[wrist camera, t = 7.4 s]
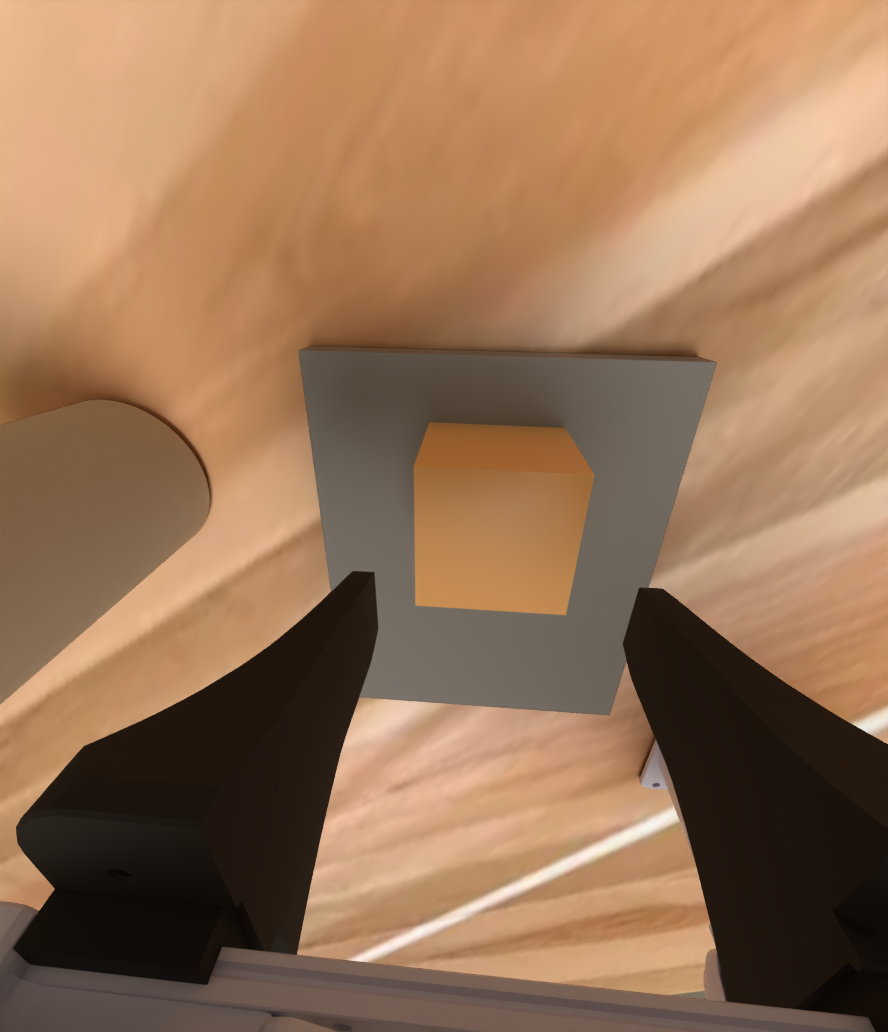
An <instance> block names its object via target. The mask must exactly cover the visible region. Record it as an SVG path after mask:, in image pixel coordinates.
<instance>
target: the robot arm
mask: <svg viewBox="0 0 888 1032" xmlns="http://www.w3.org/2000/svg"><path fill="white" fill-rule="evenodd" d="M377 633H378V614H377V600H376V586H375V572H365V571H352V572H351V573H350V574H349V575H348V576H347V577H346V578H345V579H344V580H343V581H342V582H341V583H340V584H339V585H338V586H337V587H336V588H335V589H334V590H333V591H331V592H330V593H329V594H328V595H327V596H326V597H325V598H324V599H323V600H322V601H321V602H320V603H319V604H318V605H317V606H316V607H315V608H313V609H312V610H311V611H310V612H309V613H308V614H307V615H306V616H305V617H304V618H303V619H301V620H300V621H299V622H298V623H297V624H296V625H294V626H293V627H292V628H291V629H290V630H288V631H287V632H286V633H285V634H284V635H282V636H281V637H280V638H279V639H277V640H276V641H275V642H274V643H272V644H271V645H270V646H268V647H267V648H266V649H264V650H263V651H262V652H260V653H259V654H257V655H256V656H254V657H253V658H252V659H250V660H249V661H247V662H246V663H244V664H243V665H241V666H240V667H238V668H237V669H235V670H233V671H232V672H230V673H228V674H227V675H225V676H223V677H222V678H220V679H219V680H217V681H215V682H214V683H212V684H210V685H209V686H207V687H205V688H204V689H202V690H200V691H198V692H197V693H195V694H193V695H191V696H189V697H187V698H186V699H184V700H182V701H180V702H178V703H176V704H174V705H172V706H170V707H168V708H166V709H164V710H163V711H161V712H159V713H157V714H155V715H153V716H150V717H148V718H146V719H144V720H142V721H140V722H138V723H135V724H133V725H131V726H129V727H127V728H124V729H122V730H120V731H118V732H115V733H113V734H111V735H109V736H106V737H104V738H102V739H100V740H97V741H95V742H93V743H90V744H88V745H86V746H84V747H83V748H82V749H81V750H80V751H79V752H78V753H77V754H76V756H75V757H74V758H73V759H72V760H71V761H70V762H69V764H68V765H67V766H66V767H65V768H64V769H63V770H62V772H61V773H60V774H59V775H58V776H57V777H56V779H55V780H54V781H53V782H52V783H51V784H50V785H49V787H48V788H47V789H46V790H45V791H44V792H43V794H42V795H41V796H40V797H39V798H38V799H37V800H36V802H35V803H34V804H33V805H32V806H31V807H30V809H29V810H28V811H27V812H26V813H25V814H24V815H23V817H22V818H21V819H20V821H19V823H18V825H17V826H16V834H17V841H18V844H19V846H20V848H21V849H22V851H23V852H24V854H25V855H26V856H27V857H28V858H29V859H30V861H31V862H32V863H33V864H34V865H35V866H36V868H37V869H38V870H39V871H40V872H41V873H42V874H43V876H44V877H45V878H46V879H47V880H48V881H49V882H50V884H51V885H52V886H53V887H54V888H55V890H54V891H53V893H52V894H51V895H50V897H49V898H48V900H47V901H46V902H45V904H44V905H43V907H42V908H41V910H40V911H38V910H36V909H34V908H32V907H29V906H27V905H23V904H18V903H12V902H3V901H0V1032H888V744H886V743H884V742H883V741H881V740H879V739H877V738H875V737H874V736H872V735H870V734H868V733H867V732H865V731H863V730H861V729H860V728H858V727H856V726H854V725H852V724H851V723H849V722H847V721H845V720H844V719H842V718H840V717H839V716H837V715H835V714H834V713H832V712H830V711H829V710H827V709H825V708H824V707H822V706H821V705H819V704H817V703H816V702H814V701H813V700H811V699H810V698H808V697H806V696H805V695H803V694H802V693H800V692H799V691H797V690H796V689H794V688H792V687H791V686H789V685H788V684H786V683H785V682H783V681H782V680H781V679H779V678H778V677H776V676H775V675H773V674H772V673H771V672H769V671H768V670H766V669H765V668H764V667H762V666H761V665H759V664H758V663H757V662H755V661H754V660H753V659H751V658H750V657H748V656H747V655H746V654H744V653H743V652H742V651H740V650H739V649H738V648H737V647H735V646H734V645H733V644H731V643H730V642H729V641H728V640H726V639H725V638H724V637H722V636H721V635H720V634H719V633H717V632H716V631H715V630H714V629H712V628H711V627H710V626H709V625H707V624H706V623H705V622H704V621H703V620H701V619H700V618H699V617H698V616H696V615H695V614H694V613H693V612H692V611H690V610H689V609H688V608H687V607H685V606H684V605H683V604H682V603H680V602H679V601H678V600H677V599H675V598H674V597H673V596H672V595H670V594H669V593H668V592H666V591H665V590H664V589H659V588H642V587H639V589H638V593H637V596H636V600H635V603H634V606H633V610H632V613H631V617H630V620H629V624H628V627H627V631H626V634H625V637H624V641H623V648H624V652H625V656H626V660H627V664H628V668H629V672H630V675H631V679H632V682H633V684H634V687H635V689H636V692H637V694H638V697H639V699H640V702H641V704H642V707H643V709H644V712H645V714H646V717H647V719H648V722H649V724H650V726H651V729H652V731H653V734H654V736H655V742H654V744H653V747H652V749H651V752H650V754H649V757H648V759H647V762H646V764H645V767H644V769H643V772H642V774H641V777H640V783H641V785H642V787H644V788H650V789H662V790H668V791H669V794H670V796H671V799H672V802H673V804H674V807H675V810H676V812H677V815H678V818H679V820H680V823H681V826H682V828H683V831H684V833H685V836H686V839H687V841H688V844H689V847H690V849H691V852H692V855H693V857H694V860H695V863H696V867H697V870H698V874H699V879H700V883H701V887H702V891H703V895H704V899H705V903H706V907H707V911H708V915H709V919H710V923H711V924H709V928H710V931H711V934H712V936H713V939H714V942H715V945H716V949H711V950H710V951H709V952H707V956H706V966H705V970H704V989H705V995H706V1000H705V999H696V998H687V997H677V996H669V995H660V994H650V993H641V992H632V991H623V990H614V989H605V988H596V987H586V986H577V985H568V984H559V983H550V982H541V981H531V980H522V979H513V978H504V977H495V976H486V975H476V974H467V973H458V972H449V971H440V970H431V969H422V968H412V967H403V966H394V965H385V964H376V963H367V962H357V961H348V960H339V959H330V958H321V957H312V956H303V955H297V951H298V945H299V940H300V935H301V930H302V925H303V920H304V915H305V910H306V905H307V900H308V895H309V890H310V885H311V880H312V875H313V871H314V866H315V861H316V857H317V852H318V847H319V843H320V838H321V834H322V829H323V825H324V820H325V816H326V812H327V807H328V803H329V799H330V794H331V790H332V786H333V782H334V778H335V774H336V770H337V765H338V761H339V757H340V753H341V750H342V747H343V743H344V740H345V737H346V734H347V731H348V728H349V725H350V722H351V719H352V716H353V714H354V711H355V708H356V705H357V702H358V699H359V696H360V693H361V691H362V688H363V685H364V682H365V679H366V676H367V673H368V670H369V667H370V664H371V661H372V657H373V652H374V648H375V643H376V638H377Z"/></svg>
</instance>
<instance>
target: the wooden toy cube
mask: <svg viewBox="0 0 888 1032" xmlns="http://www.w3.org/2000/svg"><path fill="white" fill-rule="evenodd" d="M593 480H594V473H593V472H592V470H591V468H590V467H589V465H588V464H587V462H586V460H585V459H584V457H583V456H582V454H581V452H580V451H579V449H578V448H577V446H576V444H575V443H574V441H573V440H572V438H571V436H570V435H569V433H568V432H567V430H566V428H553V427H529V426H505V425H481V424H457V423H433V422H430V423H429V425H428V428H427V431H426V434H425V436H424V439H423V442H422V445H421V448H420V450H419V453H418V456H417V459H416V461H415V464H414V533H415V606H429V607H445V608H460V609H476V610H492V611H507V612H523V613H539V614H554V615H566V612H567V607H568V603H569V598H570V593H571V588H572V583H573V578H574V573H575V568H576V563H577V558H578V554H579V549H580V544H581V539H582V534H583V529H584V524H585V519H586V514H587V509H588V504H589V500H590V495H591V490H592V485H593Z"/></svg>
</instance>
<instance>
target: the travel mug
mask: <svg viewBox="0 0 888 1032" xmlns="http://www.w3.org/2000/svg"><path fill="white" fill-rule="evenodd" d="M209 505H210V496H209V489H208V484H207V480H206V477H205V475H204V472H203V470H202V468H201V466H200V464H199V462H198V460H197V459H196V457H195V455H194V454H193V452H192V451H191V450H190V448H189V447H188V446H187V445H186V443H185V442H184V441H183V440H182V439H181V438H180V437H179V436H178V435H177V434H176V433H175V432H174V431H173V430H172V429H171V428H169V427H168V426H167V425H166V424H164V423H163V422H162V421H160V420H159V419H157V418H156V417H154V416H152V415H150V414H149V413H147V412H145V411H143V410H141V409H139V408H136V407H134V406H131V405H128V404H125V403H122V402H117V401H112V400H88V401H83V402H79V403H76V404H72V405H69V406H65V407H62V408H58V409H55V410H51V411H48V412H44V413H41V414H37V415H34V416H30V417H27V418H23V419H20V420H16V421H13V422H10V423H6V424H3V425H0V704H1V703H3V702H4V701H5V700H6V699H7V698H8V697H9V696H11V695H12V694H13V693H14V692H15V691H16V690H17V689H19V688H20V687H21V686H22V685H23V684H24V683H26V682H27V681H28V680H29V679H30V678H31V677H32V676H34V675H35V674H36V673H37V672H38V671H39V670H40V669H42V668H43V667H44V666H45V665H46V664H47V663H48V662H50V661H51V660H52V659H53V658H54V657H55V656H57V655H58V654H59V653H60V652H61V651H62V650H63V649H65V648H66V647H67V646H68V645H69V644H70V643H71V642H73V641H74V640H75V639H76V638H77V637H78V636H79V635H81V634H82V633H83V632H84V631H85V630H86V629H87V628H89V627H90V626H91V625H92V624H93V623H94V622H96V621H97V620H98V619H99V618H100V617H101V616H102V615H104V614H105V613H106V612H107V611H108V610H109V609H110V608H112V607H113V606H114V605H115V604H116V603H117V602H118V601H120V600H121V599H122V598H123V597H124V596H125V595H127V594H128V593H129V592H130V591H131V590H132V589H133V588H135V587H136V586H137V585H138V584H139V583H140V582H141V581H143V580H144V579H145V578H146V577H147V576H148V575H149V574H151V573H152V572H153V571H154V570H155V569H156V568H158V567H159V566H160V565H161V564H162V563H163V562H164V561H166V560H167V559H168V558H169V557H170V556H171V555H172V554H174V553H175V552H176V551H177V550H178V549H179V548H180V547H182V546H183V545H184V544H185V543H186V542H187V541H189V540H190V539H191V538H192V537H193V536H194V535H195V534H196V533H197V532H198V531H199V530H200V529H201V528H202V526H203V524H204V523H205V521H206V518H207V515H208V512H209Z"/></svg>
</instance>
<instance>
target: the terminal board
mask: <svg viewBox="0 0 888 1032" xmlns="http://www.w3.org/2000/svg"><path fill="white" fill-rule="evenodd" d="M298 351H299V358H300V365H301V373H302V380H303V388H304V395H305V402H306V410H307V417H308V425H309V432H310V440H311V447H312V454H313V462H314V469H315V477H316V484H317V492H318V499H319V506H320V514H321V521H322V529H323V536H324V544H325V551H326V558H327V566H328V573H329V581H330V588H331V591H333V590H334V589H335V588H336V587H337V586H338V585H339V584H340V583H341V582H342V581H343V580H344V579H345V578H346V577H347V576H348V575H349V574H350V573H351V572H352V571H365V572H375V586H376V600H377V614H378V633H377V638H376V643H375V648H374V652H373V657H372V661H371V664H370V667H369V670H368V673H367V676H366V679H365V682H364V685H363V688H362V691H361V693H360V696H359V697H364V698H377V699H391V700H405V701H419V702H433V703H446V704H460V705H474V706H488V707H501V708H515V709H529V710H543V711H556V712H570V713H584V714H598V715H610V712H611V709H612V706H613V703H614V699H615V696H616V693H617V689H618V686H619V683H620V680H621V676H622V673H623V670H624V666H625V663H626V656H625V652H624V648H623V641H624V637H625V634H626V631H627V627H628V624H629V620H630V617H631V613H632V610H633V606H634V603H635V600H636V596H637V593H638V589H639V587H642V588H649V584H650V581H651V578H652V574H653V571H654V568H655V565H656V561H657V558H658V555H659V551H660V548H661V545H662V542H663V538H664V535H665V532H666V528H667V525H668V522H669V519H670V515H671V512H672V509H673V505H674V502H675V499H676V496H677V492H678V489H679V486H680V482H681V479H682V476H683V473H684V469H685V466H686V463H687V459H688V456H689V453H690V450H691V446H692V443H693V440H694V436H695V433H696V430H697V427H698V423H699V420H700V417H701V413H702V410H703V407H704V404H705V400H706V397H707V394H708V390H709V387H710V384H711V381H712V377H713V374H714V371H715V367H716V364H717V362H714V361H711V360H708V359H705V358H701V357H691V356H656V355H620V354H584V353H548V352H512V351H477V350H441V349H405V348H369V347H334V346H310V347H307V348H304V349H301V350H298ZM430 422H433V423H457V424H481V425H505V426H529V427H553V428H566V430H567V432H568V433H569V435H570V436H571V438H572V440H573V441H574V443H575V444H576V446H577V448H578V449H579V451H580V452H581V454H582V456H583V457H584V459H585V460H586V462H587V464H588V465H589V467H590V468H591V470H592V472H593V473H594V480H593V485H592V490H591V495H590V500H589V504H588V509H587V514H586V519H585V524H584V529H583V534H582V539H581V544H580V549H579V554H578V558H577V563H576V568H575V573H574V578H573V583H572V588H571V593H570V598H569V603H568V607H567V612H566V615H554V614H539V613H523V612H507V611H492V610H476V609H460V608H445V607H429V606H415V533H414V464H415V461H416V459H417V456H418V453H419V450H420V448H421V445H422V442H423V439H424V436H425V434H426V431H427V428H428V425H429V423H430Z"/></svg>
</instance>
